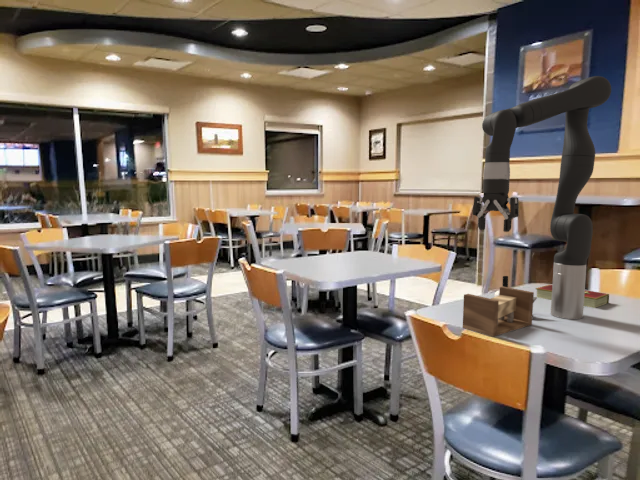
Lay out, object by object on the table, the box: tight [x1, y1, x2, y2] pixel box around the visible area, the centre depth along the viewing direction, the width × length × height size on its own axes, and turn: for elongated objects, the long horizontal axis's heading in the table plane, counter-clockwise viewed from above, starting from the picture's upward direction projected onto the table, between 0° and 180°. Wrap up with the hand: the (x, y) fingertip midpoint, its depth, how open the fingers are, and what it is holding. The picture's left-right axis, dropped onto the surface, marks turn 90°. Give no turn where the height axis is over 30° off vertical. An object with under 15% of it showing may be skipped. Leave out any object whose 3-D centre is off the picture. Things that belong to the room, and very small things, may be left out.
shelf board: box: [490, 295, 516, 318], centre depth 132 cm, size 14×5×4 cm, turn 135°
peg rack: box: [462, 286, 535, 338], centre depth 133 cm, size 20×10×10 cm, turn 125°
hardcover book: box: [535, 284, 610, 309], centre depth 166 cm, size 12×21×4 cm, turn 39°
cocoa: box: [493, 275, 509, 298], centre depth 151 cm, size 10×6×12 cm, turn 147°
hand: (494, 230), depth 138 cm, fingers open, 8 cm apart
